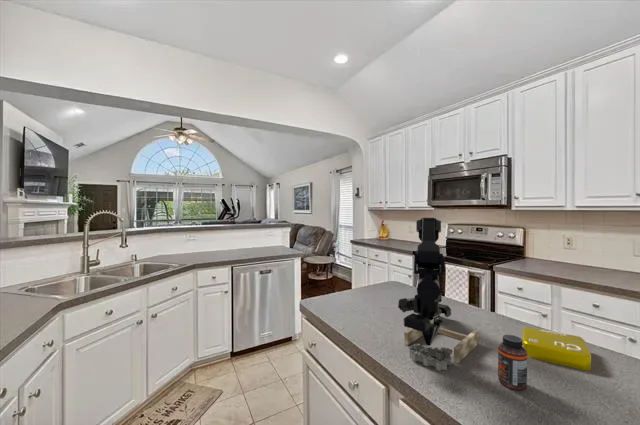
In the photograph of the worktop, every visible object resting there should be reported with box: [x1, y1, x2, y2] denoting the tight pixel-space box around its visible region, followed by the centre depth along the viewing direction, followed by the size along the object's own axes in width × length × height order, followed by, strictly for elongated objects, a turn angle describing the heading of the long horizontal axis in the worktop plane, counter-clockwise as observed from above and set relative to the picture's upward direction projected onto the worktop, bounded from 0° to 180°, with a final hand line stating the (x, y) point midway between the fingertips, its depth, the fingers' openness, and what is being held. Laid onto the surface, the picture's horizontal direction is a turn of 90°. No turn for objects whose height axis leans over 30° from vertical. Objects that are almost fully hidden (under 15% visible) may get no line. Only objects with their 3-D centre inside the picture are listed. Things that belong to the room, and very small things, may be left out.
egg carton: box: [408, 342, 454, 371], centre depth 82 cm, size 11×8×4 cm
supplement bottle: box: [497, 334, 528, 391], centre depth 71 cm, size 6×6×11 cm
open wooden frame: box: [403, 327, 480, 364], centre depth 92 cm, size 17×16×4 cm
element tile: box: [522, 326, 592, 371], centre depth 87 cm, size 15×15×5 cm
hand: (428, 345), depth 85 cm, fingers closed, pressing on egg carton
